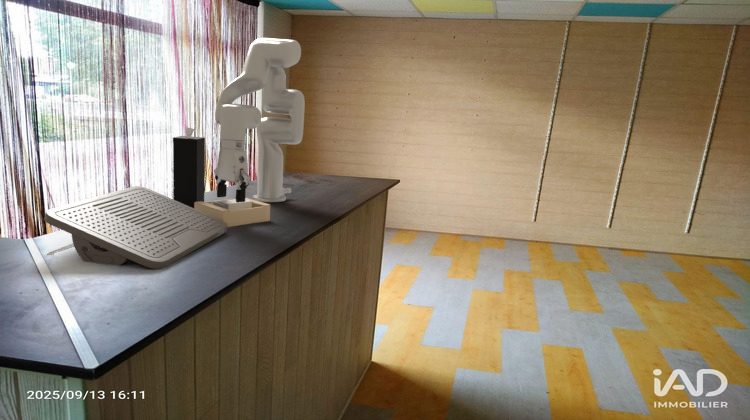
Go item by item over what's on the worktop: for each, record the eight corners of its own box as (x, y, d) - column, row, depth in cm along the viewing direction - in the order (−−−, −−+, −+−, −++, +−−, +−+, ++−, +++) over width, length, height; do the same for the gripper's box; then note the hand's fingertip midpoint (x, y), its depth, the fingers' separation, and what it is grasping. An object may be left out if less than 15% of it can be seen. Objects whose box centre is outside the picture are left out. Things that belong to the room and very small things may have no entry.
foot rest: (159, 280, 119) (158, 225, 116) (36, 265, 122) (33, 211, 120) (231, 237, 156) (232, 194, 154) (135, 226, 160) (134, 184, 158)
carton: (241, 213, 184) (241, 196, 182) (269, 222, 174) (270, 204, 173) (194, 220, 170) (194, 202, 168) (222, 230, 161) (223, 211, 159)
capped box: (241, 216, 178) (242, 198, 176) (251, 219, 175) (251, 201, 173) (213, 220, 169) (213, 201, 168) (222, 223, 166) (223, 204, 165)
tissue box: (196, 213, 178) (197, 129, 172) (173, 212, 178) (172, 127, 172) (204, 209, 186) (205, 127, 180) (181, 207, 186) (181, 125, 180)
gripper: (260, 148, 164) (257, 203, 167) (225, 142, 175) (224, 194, 178) (239, 148, 158) (238, 205, 161) (205, 142, 169) (204, 195, 172)
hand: (230, 199), depth 170 cm, fingers open, 9 cm apart
